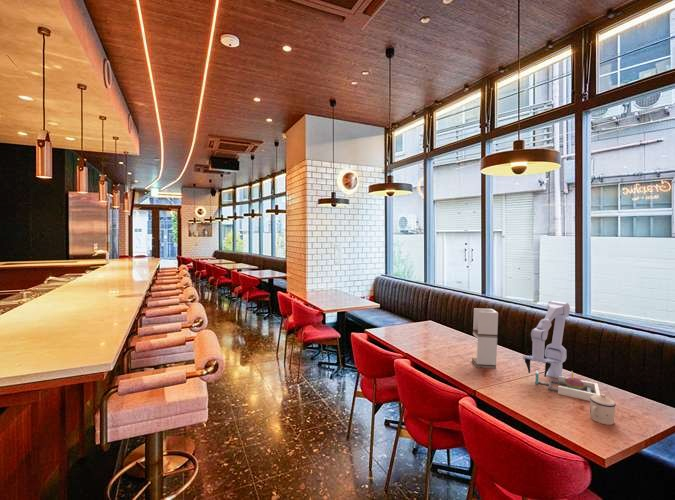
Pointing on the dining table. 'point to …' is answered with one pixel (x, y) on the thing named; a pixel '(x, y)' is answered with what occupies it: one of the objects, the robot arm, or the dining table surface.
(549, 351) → the robot arm
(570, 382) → the cupcake
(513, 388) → the dining table surface
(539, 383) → the frame with teal handle
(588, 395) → the white rectangular tray
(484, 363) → the light grey tall block
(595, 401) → the teacup with lid
